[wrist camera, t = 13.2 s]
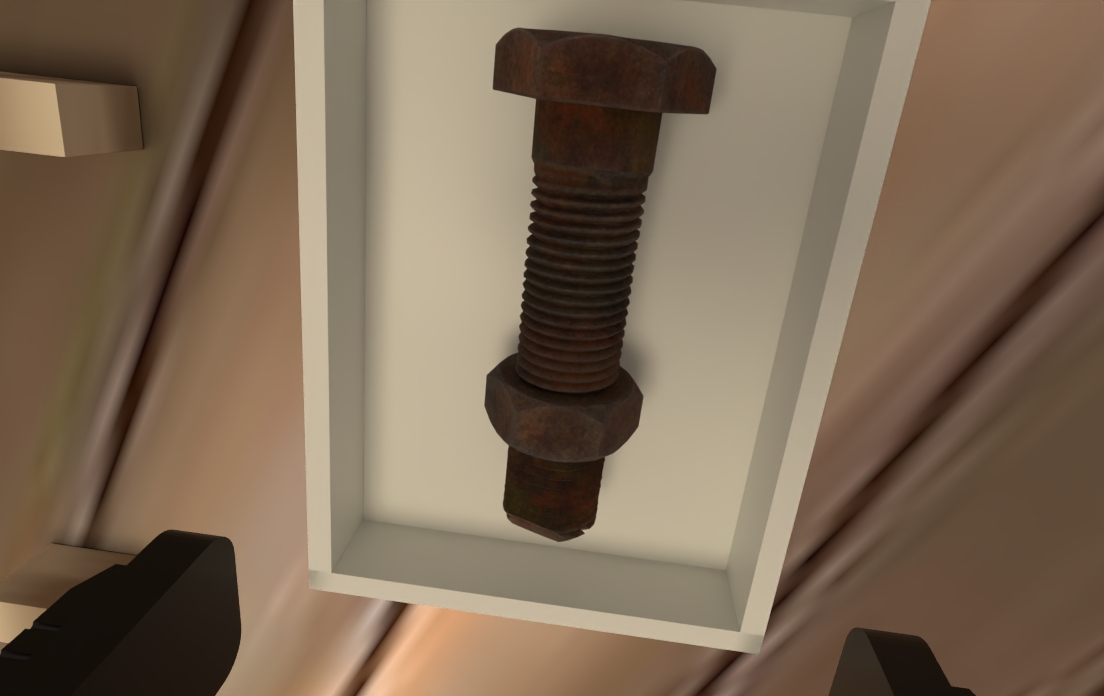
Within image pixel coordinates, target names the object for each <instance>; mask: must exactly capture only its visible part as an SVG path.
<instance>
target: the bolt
mask: <svg viewBox="0 0 1104 696" xmlns="http://www.w3.org/2000/svg"><path fill="white" fill-rule="evenodd" d="M716 70H717V69H716V67H715V65H714V64H713V62H712V60H711V59H710V57H709V56H708V55H707V54H706V53H705V52H704V50H702V49H700V48H697V47H693V46H686V45H679V44H672V43H665V42H657V41H649V40H641V39H633V38H625V37H619V36H613V35H607V34H596V33H584V32H572V31H560V30H544V29H527V28H519V27H518V28H514V29H512V30H510V31H509V32H507V33H506V34H504V35H503V37H502V38H501V39H500V40H499V41H498V42H497V43H496V47H495V61H494V74H493V90H497V91H502V92H506V93H511V94H515V95H520V96H525V97H529V98H534V99H536V105H535V118H534V131H533V144H532V156H531V158H532V160H533V162H534V172H535V176H534V177H533V178H532V182H533V183H534V184H535V185H536V186H537V187H538V188H535V189H532V192H531V194H532V195H533V196H534V197H535V198H536V199H537V200H533V201H531V203H530V206H531V207H532V209H534V210H535V212H532V213H530V217H529V219H530V220H531V221H533V222H534V223H531V224H530V225H529V226H528V230H529V232H530V233H531V235H530V236H529V237H528V238H527V244H528V245H530V246H529V247H528V248H527V249H526V253H525V254H526V255H527V257H528V258H527V259H526V260H525V264H524V266H525V267H526V268H527V269H526V270H525V272H524V278H526V280H525V281H524V282H523V287H524V289H525V290H524V292H523V293H522V298H523V299H524V301H523V302H522V303H521V308H522V310H523V312H522V313H521V314H520V319H521V321H522V322H521V324H520V325H519V328H520V331H521V332H520V334H519V336H518V337H519V341H520V342H519V344H518V353H515V354H512V355H510V356H508V357H507V358H505V359H504V360H503V361H501V362H500V363H499V364H498V365H497V366H496V367H495V368H494V369H493V370H491V371H490V372H489V373H488V374H487V376H486V390H485V403H484V407H485V409H486V412H487V414H488V417H489V420H490V422H491V424H492V426H493V427H494V429H495V431H496V433H497V434H498V435H499V436H500V437H501V438H502V440H503V441H504V442H505V443H506V444H508V446H509V448H508V457H507V468H506V479H505V482H506V483H505V485H504V487H505V491H504V499H503V509H504V511H505V512H506V515H507V519H508V520H509V521H510V522H511V523H512V524H515V525H517V526H519V527H522V528H524V529H526V530H529V531H531V532H534V533H536V534H539V535H541V536H544V537H546V538H549V539H551V540H554V541H556V542H563V541H569V540H571V539H574V538H577V537H579V536H581V535H583V534H585V533H584V532H583V531H582V530H587V529H590V528H591V527H592V526H593V525H594V524H595V520H596V514H597V509H598V507H597V505H598V497H599V492H600V487H601V479H602V472H603V467H604V461H605V457H606V456H608V455H611V454H613V453H615V452H616V451H617V450H618V449H619V448H620V447H622V446H623V445H624V444H625V443H626V442H627V441H628V440H629V439H630V437H631V436H632V435H633V433H634V432H635V431H636V429H637V428H638V427H639V421H640V415H641V409H642V403H643V397H644V396H643V394H642V392H641V391H640V389H639V387H638V386H637V384H636V382H635V381H634V379H633V378H632V377H631V375H630V374H629V373H628V372H627V371H626V370H625V369H624V368H622V367H621V366H620V361H619V359H620V358H621V355H622V353H621V348H622V347H623V340H622V339H623V337H624V336H625V330H624V327H625V326H626V325H627V324H626V316H627V315H628V311H627V306H628V305H629V304H630V301H629V298H628V296H629V295H630V294H631V287H630V285H631V284H632V283H633V277H632V275H631V274H632V273H633V270H634V265H633V264H632V263H633V262H634V261H635V260H636V254H635V253H634V251H635V250H636V249H637V248H638V243H637V242H636V240H638V238H639V236H640V231H639V230H637V229H638V228H640V227H641V224H642V220H641V219H640V218H639V217H640V216H642V215H643V214H644V209H643V208H642V206H641V205H642V204H643V203H644V202H645V197H646V196H644V195H643V194H642V193H643V192H645V191H646V190H647V186H648V179H649V176H650V175H651V174H652V172H653V169H654V162H655V156H656V150H657V143H658V137H659V131H660V125H661V119H662V113H677V114H709V110H710V104H711V99H712V93H713V87H714V82H715V76H716Z"/></svg>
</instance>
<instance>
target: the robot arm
mask: <svg viewBox="0 0 1104 696" xmlns="http://www.w3.org/2000/svg"><path fill="white" fill-rule="evenodd" d="M240 639H241V618H240V607H239V596H238V585H237V575H236V564H235V553H234V547H233V544H232V542H231V541H230V540H229V539H228V538H226V537H222V536H214V535H207V534H200V533H193V532H186V531H179V530H167V531H164V532H163V533H161V534H160V535H158V536H157V537H156V538H155V539H154V540H153V541H152V542H151V543H150V544H149V545H147V546H146V547H145V548H144V549H143V550H142V551H141V552H140V553H139V554H138V555H137V556H136V557H135V558H134V559H133V560H132V561H131V562H129V563H128V564H127V565H120V564H115V565H113V566H111V567H109V568H107V569H105V570H104V571H102V572H100V573H98V574H96V575H94V576H93V577H91V578H89V579H87V580H85V581H83V582H82V583H80V584H78V585H76V586H74V587H72V588H71V589H69V590H68V591H67V592H66V593H65V594H64V595H62V596H61V597H60V598H59V599H58V600H57V601H56V602H55V603H53V604H52V605H51V606H50V607H49V608H48V609H47V610H46V611H44V612H43V613H42V614H41V615H40V616H39V617H38V618H37V619H35V620H34V621H33V625H32V627H31V628H30V629H26V628H25V629H24V630H23V631H22V632H21V633H20V634H19V635H18V636H16V637H15V638H14V639H13V640H12V641H11V642H10V643H9V644H7V645H6V646H5V647H4V648H3V649H2V650H1V654H0V696H215V695H216V693H217V692H218V691H219V689H220V688H221V686H222V685H223V683H224V682H225V680H226V678H227V677H228V675H229V673H230V671H231V669H232V667H233V664H234V662H235V659H236V656H237V653H238V649H239V645H240ZM829 696H976V695H975V694H974V693H973V692H972V691H971V690H970V689H966V688H959V687H952V686H951V685H950V683H949V682H948V680H947V678H946V676H945V674H944V673H943V671H942V669H941V667H940V665H939V663H938V662H937V660H936V658H935V656H934V654H933V653H932V651H931V649H930V647H929V646H928V644H927V643H926V642H925V641H924V640H923V639H922V638H921V637H918V636H914V635H907V634H900V633H893V632H885V631H878V630H871V629H864V628H854V629H852V630H851V631H850V632H849V634H848V636H847V638H846V641H845V644H844V647H843V651H842V654H841V657H840V660H839V664H838V667H837V670H836V673H835V677H834V680H833V683H832V686H831V689H830V693H829Z"/></svg>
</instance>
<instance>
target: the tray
mask: <svg viewBox="0 0 1104 696" xmlns="http://www.w3.org/2000/svg"><path fill="white" fill-rule="evenodd" d="M930 3H931V0H293V13H294V50H295V87H296V123H297V160H298V196H299V233H300V269H301V306H302V343H303V379H304V416H305V452H306V489H307V525H308V562H309V589H316V590H323V591H329V592H336V593H343V594H350V595H357V596H364V597H370V598H377V599H384V600H391V601H398V602H405V603H412V604H418V605H425V606H432V607H439V608H446V609H453V610H459V611H466V612H473V613H480V614H487V615H494V616H501V617H507V618H514V619H521V620H528V621H535V622H542V623H548V624H555V625H562V626H569V627H576V628H583V629H590V630H596V631H603V632H610V633H617V634H624V635H631V636H637V637H644V638H651V639H658V640H665V641H672V642H679V643H685V644H692V645H699V646H706V647H713V648H720V649H726V650H733V651H740V652H747V653H754V654H760V650H761V646H762V642H763V638H764V635H765V631H766V627H767V623H768V619H769V616H770V612H771V608H772V604H773V600H774V597H775V593H776V589H777V585H778V581H779V578H780V574H781V570H782V566H783V562H784V559H785V555H786V551H787V547H788V543H789V540H790V536H791V532H792V528H793V524H794V520H795V517H796V513H797V509H798V505H799V501H800V498H801V494H802V490H803V486H804V482H805V479H806V475H807V471H808V467H809V463H810V460H811V456H812V452H813V448H814V444H815V441H816V437H817V433H818V429H819V425H820V422H821V418H822V414H823V410H824V406H825V403H826V399H827V395H828V391H829V387H830V384H831V380H832V376H833V372H834V368H835V365H836V361H837V357H838V353H839V349H840V345H841V342H842V338H843V334H844V330H845V326H846V323H847V319H848V315H849V311H850V307H851V304H852V300H853V296H854V292H855V288H856V285H857V281H858V277H859V273H860V269H861V266H862V262H863V258H864V254H865V250H866V247H867V243H868V239H869V235H870V231H871V228H872V224H873V220H874V216H875V212H876V209H877V205H878V201H879V197H880V193H881V190H882V186H883V182H884V178H885V174H886V170H887V167H888V163H889V159H890V155H891V151H892V148H893V144H894V140H895V136H896V132H897V129H898V125H899V121H900V117H901V113H902V110H903V106H904V102H905V98H906V94H907V91H908V87H909V83H910V79H911V75H912V72H913V68H914V64H915V60H916V56H917V53H918V49H919V45H920V41H921V37H922V34H923V30H924V26H925V22H926V18H927V15H928V11H929V7H930ZM518 27H519V28H527V29H544V30H560V31H572V32H584V33H596V34H607V35H613V36H619V37H625V38H633V39H641V40H649V41H657V42H665V43H672V44H679V45H686V46H693V47H697V48H700V49H702V50H704V52H705V53H706V54H707V55H708V56H709V57H710V59H711V60H712V62H713V64H714V65H715V67H716V69H717V70H716V76H715V82H714V87H713V93H712V99H711V104H710V110H709V114H677V113H662V119H661V125H660V131H659V137H658V143H657V150H656V156H655V162H654V169H653V172H652V174H651V175H650V176H649V179H648V186H647V190H646V191H645V192H643V193H642V194H643V195H644V196H646V197H645V202H644V203H643V204H642V205H641V206H642V208H643V209H644V214H643V215H642V216H640V217H639V218H640V219H641V220H642V224H641V227H640V228H638V229H637V230H639V231H640V236H639V238H638V240H636V242H637V243H638V248H637V249H636V250H635V251H634V253H635V254H636V260H635V261H634V262H633V263H632V264H633V265H634V270H633V273H632V274H631V275H632V277H633V283H632V284H631V285H630V287H631V294H630V295H629V296H628V298H629V301H630V304H629V305H628V306H627V311H628V315H627V316H626V324H627V325H626V326H625V327H624V330H625V336H624V337H623V339H622V340H623V347H622V348H621V353H622V355H621V358H620V359H619V361H620V366H621V367H622V368H624V369H625V370H626V371H627V372H628V373H629V374H630V375H631V377H632V378H633V379H634V381H635V382H636V384H637V386H638V387H639V389H640V391H641V392H642V394H643V396H644V397H643V403H642V409H641V415H640V421H639V427H638V428H637V429H636V431H635V432H634V433H633V435H632V436H631V437H630V439H629V440H628V441H627V442H626V443H625V444H624V445H623V446H622V447H620V448H619V449H618V450H617V451H616V452H615V453H613V454H611V455H608V456H606V457H605V461H604V467H603V472H602V479H601V487H600V492H599V497H598V505H597V507H598V509H597V514H596V520H595V524H594V525H593V526H592V527H591V528H590V529H587V530H582V531H583V532H584V533H585V534H583V535H581V536H579V537H577V538H574V539H571V540H569V541H563V542H556V541H554V540H551V539H549V538H546V537H544V536H541V535H539V534H536V533H534V532H531V531H529V530H526V529H524V528H522V527H519V526H517V525H515V524H512V523H511V522H510V521H509V520H508V519H507V515H506V512H505V511H504V509H503V499H504V491H505V487H504V485H505V483H506V482H505V479H506V468H507V457H508V448H509V446H508V444H506V443H505V442H504V441H503V440H502V438H501V437H500V436H499V435H498V434H497V433H496V431H495V429H494V427H493V426H492V424H491V422H490V420H489V417H488V414H487V412H486V409H485V407H484V403H485V390H486V376H487V374H488V373H489V372H490V371H491V370H493V369H494V368H495V367H496V366H497V365H498V364H499V363H500V362H501V361H503V360H504V359H505V358H507V357H508V356H510V355H512V354H515V353H518V344H519V342H520V341H519V337H518V336H519V334H520V332H521V331H520V328H519V325H520V324H521V322H522V321H521V319H520V314H521V313H522V312H523V310H522V308H521V303H522V302H523V301H524V299H523V298H522V293H523V292H524V290H525V289H524V287H523V282H524V281H525V280H526V278H524V272H525V270H526V269H527V268H526V267H525V266H524V264H525V260H526V259H527V258H528V257H527V255H526V254H525V253H526V249H527V248H528V247H529V246H530V245H528V244H527V238H528V237H529V236H530V235H531V233H530V232H529V230H528V226H529V225H530V224H531V223H534V222H533V221H531V220H530V219H529V217H530V213H532V212H535V210H534V209H532V207H531V206H530V203H531V201H533V200H537V199H536V198H535V197H534V196H533V195H532V194H531V192H532V189H535V188H538V187H537V186H536V185H535V184H534V183H533V182H532V178H533V177H534V176H535V172H534V162H533V160H532V158H531V156H532V144H533V131H534V118H535V105H536V99H534V98H529V97H525V96H520V95H515V94H511V93H506V92H502V91H497V90H493V74H494V61H495V47H496V43H497V42H498V41H499V40H500V39H501V38H502V37H503V35H504V34H506V33H507V32H509V31H510V30H512V29H514V28H518Z"/></svg>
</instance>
